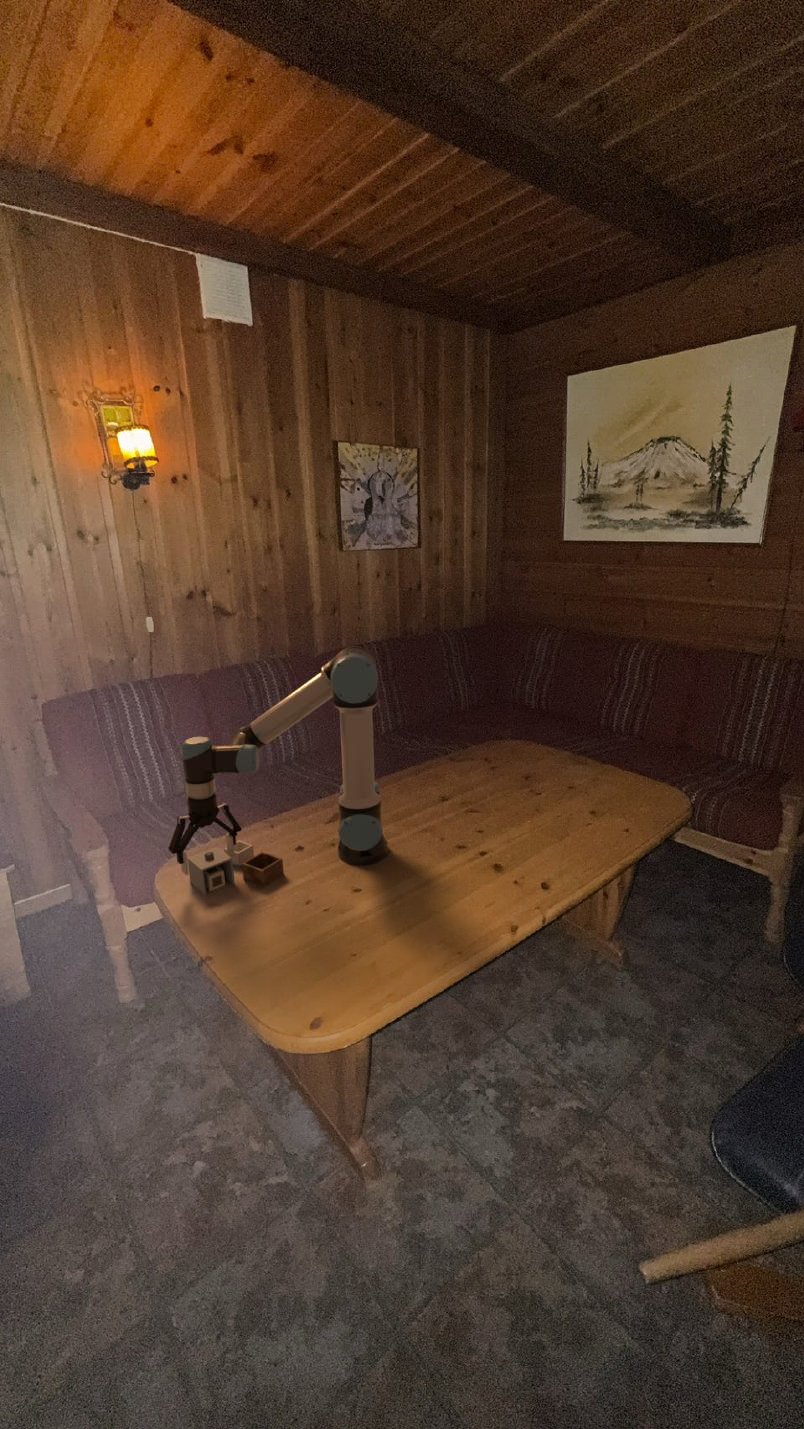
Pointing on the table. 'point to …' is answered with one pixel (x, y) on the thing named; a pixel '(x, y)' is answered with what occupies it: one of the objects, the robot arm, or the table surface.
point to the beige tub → (241, 853)
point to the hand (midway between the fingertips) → (208, 864)
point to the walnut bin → (262, 869)
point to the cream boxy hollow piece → (214, 878)
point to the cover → (209, 866)
